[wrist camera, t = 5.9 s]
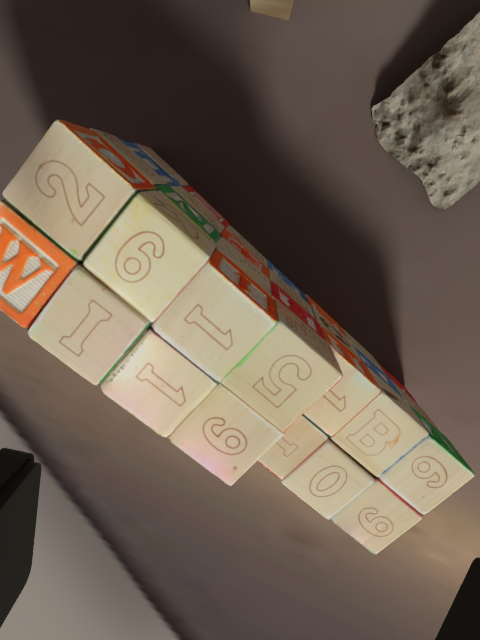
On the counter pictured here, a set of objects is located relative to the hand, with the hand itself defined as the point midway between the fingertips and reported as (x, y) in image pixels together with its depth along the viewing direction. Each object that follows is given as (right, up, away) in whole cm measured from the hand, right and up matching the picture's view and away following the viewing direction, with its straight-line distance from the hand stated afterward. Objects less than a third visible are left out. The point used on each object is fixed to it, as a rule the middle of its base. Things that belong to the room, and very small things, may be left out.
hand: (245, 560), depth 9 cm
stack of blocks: (+1, +5, +18) cm, 19 cm away
